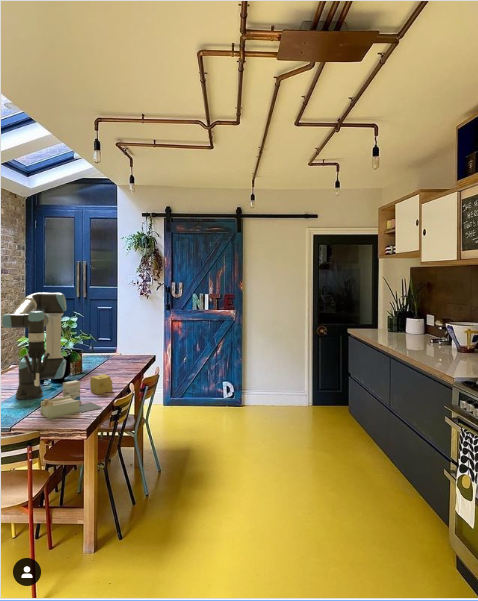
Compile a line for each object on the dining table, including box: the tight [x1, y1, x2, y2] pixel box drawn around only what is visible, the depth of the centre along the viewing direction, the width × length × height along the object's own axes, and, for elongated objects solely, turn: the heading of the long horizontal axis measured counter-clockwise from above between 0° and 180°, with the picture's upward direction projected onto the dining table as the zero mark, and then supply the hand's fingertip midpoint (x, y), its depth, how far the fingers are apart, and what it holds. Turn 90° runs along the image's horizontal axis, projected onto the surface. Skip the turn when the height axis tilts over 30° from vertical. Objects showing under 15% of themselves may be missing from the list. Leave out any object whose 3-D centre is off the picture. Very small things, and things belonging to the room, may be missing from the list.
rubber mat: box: [79, 401, 103, 413], centre depth 238 cm, size 14×12×1 cm
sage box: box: [40, 396, 80, 420], centre depth 227 cm, size 12×16×7 cm
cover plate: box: [43, 398, 75, 408], centre depth 227 cm, size 9×15×4 cm, turn 135°
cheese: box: [89, 374, 114, 395], centre depth 272 cm, size 10×11×10 cm
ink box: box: [62, 380, 81, 401], centre depth 250 cm, size 9×5×12 cm, turn 141°
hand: (36, 385), depth 218 cm, fingers closed
